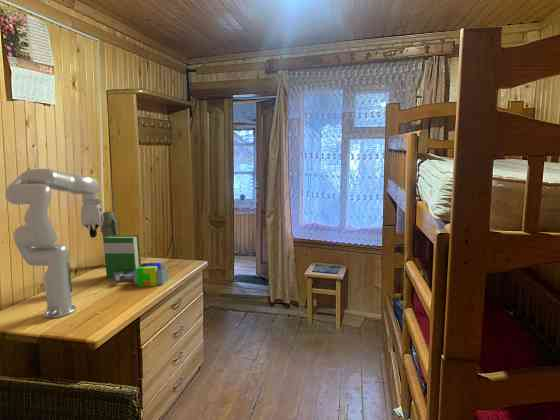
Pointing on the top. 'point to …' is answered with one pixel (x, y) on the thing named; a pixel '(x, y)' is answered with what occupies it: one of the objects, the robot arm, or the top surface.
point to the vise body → (161, 274)
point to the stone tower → (109, 224)
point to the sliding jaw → (134, 275)
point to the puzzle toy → (147, 274)
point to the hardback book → (121, 253)
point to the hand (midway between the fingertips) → (93, 237)
